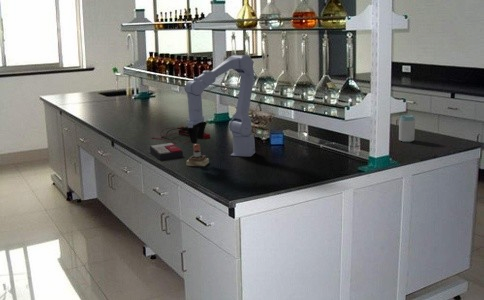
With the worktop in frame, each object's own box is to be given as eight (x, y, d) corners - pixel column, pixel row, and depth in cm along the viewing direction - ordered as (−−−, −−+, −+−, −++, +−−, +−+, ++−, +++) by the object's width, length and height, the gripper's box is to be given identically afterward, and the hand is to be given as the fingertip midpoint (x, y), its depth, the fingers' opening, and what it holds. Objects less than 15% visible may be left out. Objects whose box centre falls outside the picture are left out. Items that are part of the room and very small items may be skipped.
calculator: (159, 153, 247) (149, 144, 260) (159, 162, 248) (150, 153, 261) (182, 149, 251) (172, 141, 264) (183, 158, 253) (172, 150, 266)
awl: (201, 158, 239) (201, 143, 238) (199, 160, 237) (198, 145, 235) (195, 158, 240) (194, 143, 239) (193, 160, 237) (192, 145, 236)
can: (408, 143, 260) (409, 117, 257) (395, 141, 266) (396, 116, 263) (417, 140, 264) (418, 115, 262) (404, 138, 270) (405, 113, 267)
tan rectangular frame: (208, 162, 240) (208, 155, 240) (204, 166, 235) (204, 158, 234) (191, 162, 243) (190, 154, 242) (186, 165, 237) (186, 158, 237)
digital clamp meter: (184, 123, 306) (213, 129, 288) (185, 132, 307) (213, 138, 289) (148, 130, 291) (175, 137, 273) (148, 139, 293) (176, 146, 274)
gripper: (192, 106, 242) (194, 136, 245) (179, 112, 229) (182, 144, 232) (207, 106, 240) (209, 137, 244) (196, 112, 227) (198, 145, 230)
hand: (197, 141), depth 238 cm, fingers open, 7 cm apart
